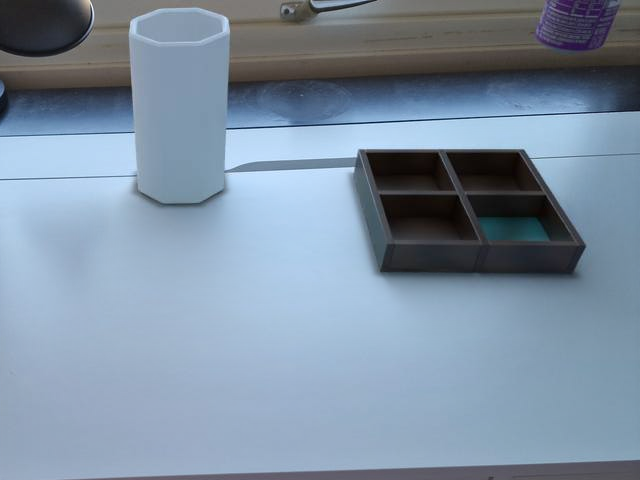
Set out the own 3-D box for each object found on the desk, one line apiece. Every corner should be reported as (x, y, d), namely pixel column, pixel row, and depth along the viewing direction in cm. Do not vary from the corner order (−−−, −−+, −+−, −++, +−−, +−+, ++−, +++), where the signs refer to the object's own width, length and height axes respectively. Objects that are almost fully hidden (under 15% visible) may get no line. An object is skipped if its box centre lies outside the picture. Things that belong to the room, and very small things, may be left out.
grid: (514, 175, 84) (524, 148, 82) (572, 273, 70) (586, 245, 68) (353, 175, 85) (358, 148, 83) (380, 271, 72) (387, 244, 69)
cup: (238, 168, 87) (247, 12, 74) (206, 214, 80) (210, 51, 67) (157, 152, 90) (152, 1, 77) (120, 195, 83) (107, 37, 70)
